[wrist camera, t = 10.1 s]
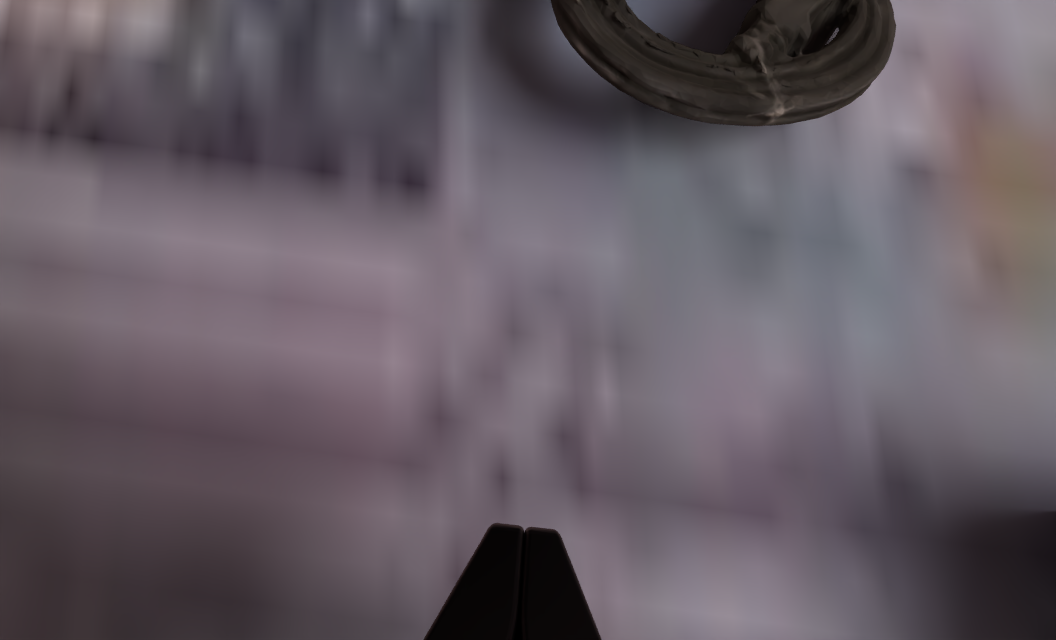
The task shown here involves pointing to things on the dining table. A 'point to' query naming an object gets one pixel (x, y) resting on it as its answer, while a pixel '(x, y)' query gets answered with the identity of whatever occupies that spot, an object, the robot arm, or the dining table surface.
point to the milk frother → (740, 59)
